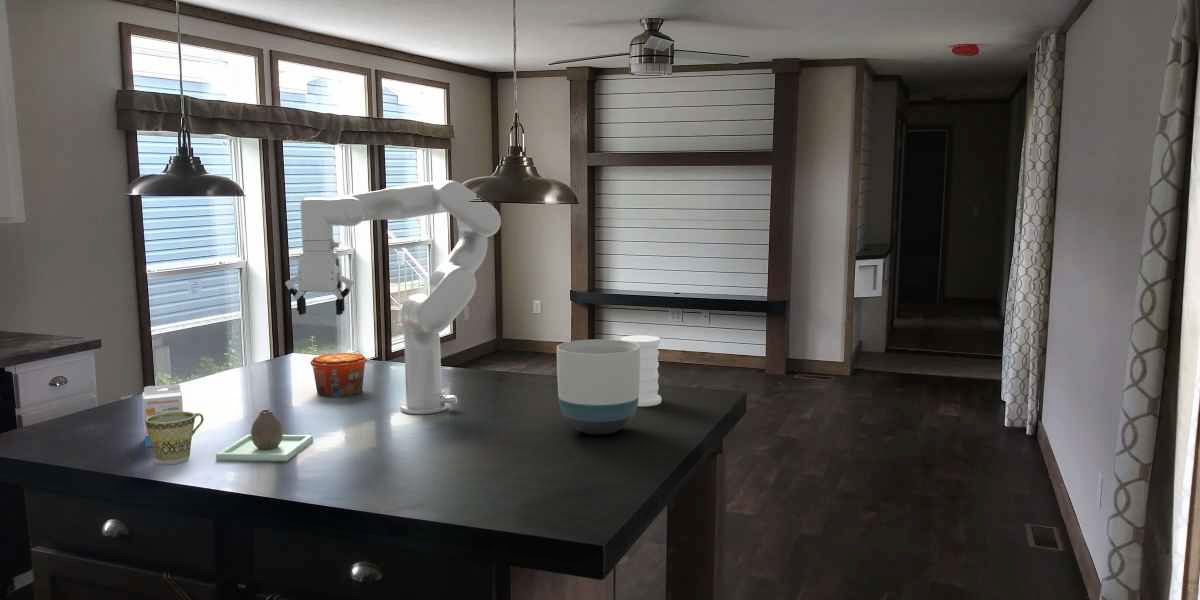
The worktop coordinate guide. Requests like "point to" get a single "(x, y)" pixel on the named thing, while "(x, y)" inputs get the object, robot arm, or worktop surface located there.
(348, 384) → the food container
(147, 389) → the ink box
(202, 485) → the worktop surface
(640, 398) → the decorative container
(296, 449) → the tray
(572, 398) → the planter
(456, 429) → the worktop surface
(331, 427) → the worktop surface
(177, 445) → the ceramic cup
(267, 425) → the vase
